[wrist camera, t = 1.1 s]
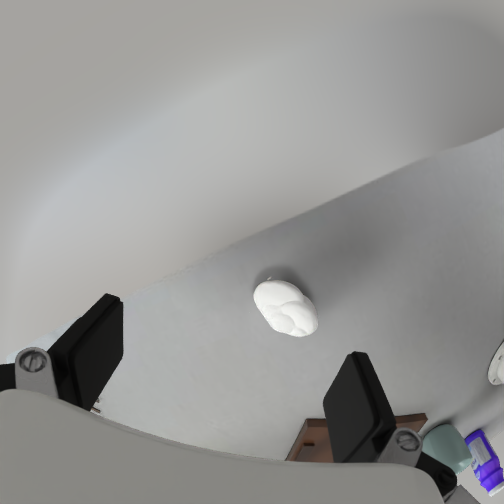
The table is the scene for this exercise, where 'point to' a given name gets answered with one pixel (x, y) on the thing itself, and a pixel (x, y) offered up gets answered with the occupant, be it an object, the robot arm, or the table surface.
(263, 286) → the dumpling
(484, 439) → the bottle
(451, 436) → the cup
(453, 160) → the table surface
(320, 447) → the bread board
